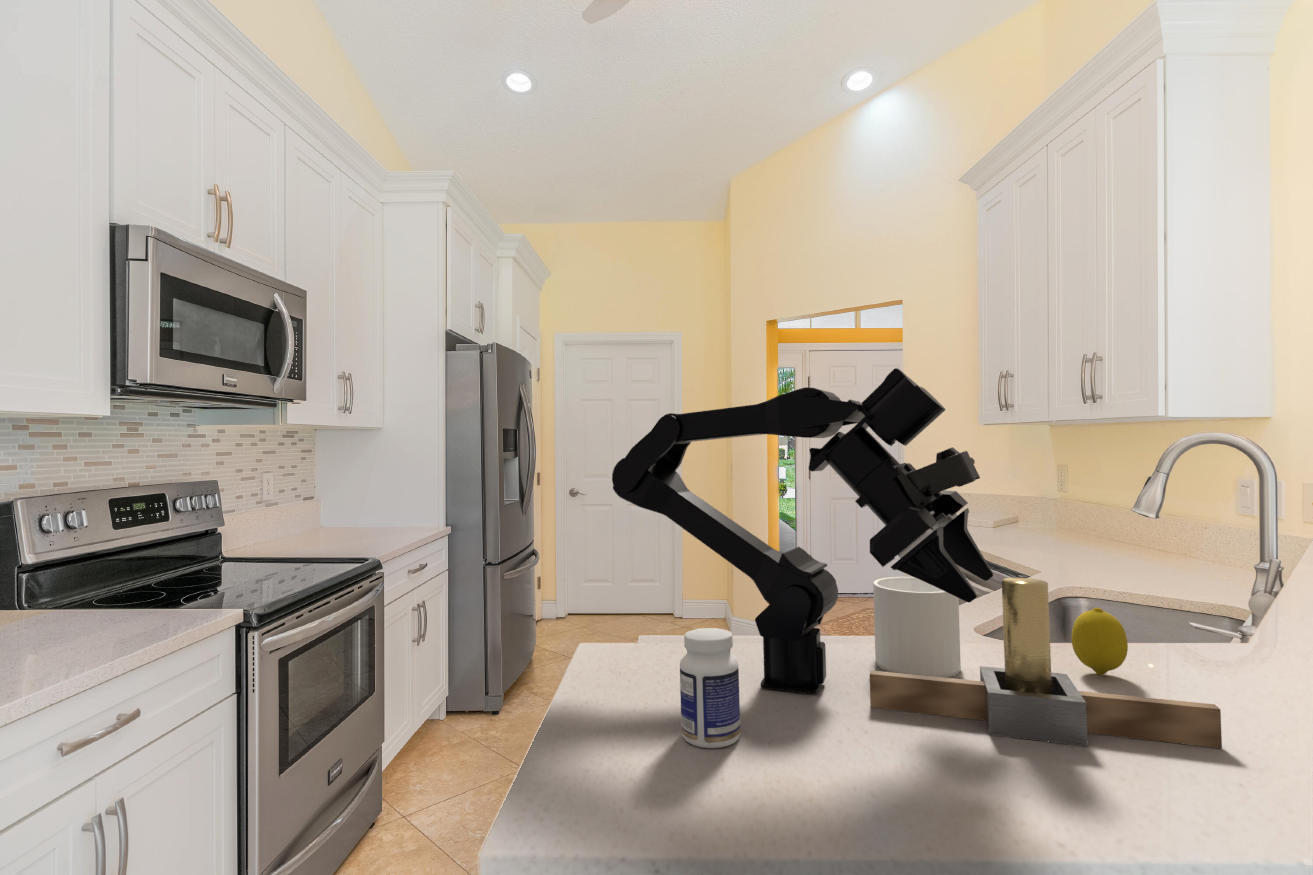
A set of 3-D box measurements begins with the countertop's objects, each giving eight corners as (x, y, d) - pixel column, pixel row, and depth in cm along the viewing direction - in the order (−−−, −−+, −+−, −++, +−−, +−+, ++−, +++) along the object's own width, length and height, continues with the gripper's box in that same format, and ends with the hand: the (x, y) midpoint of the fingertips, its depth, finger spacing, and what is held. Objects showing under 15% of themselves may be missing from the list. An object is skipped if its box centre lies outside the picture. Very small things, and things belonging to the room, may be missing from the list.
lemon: (1138, 684, 74) (1136, 613, 74) (1084, 681, 75) (1082, 612, 75) (1114, 668, 79) (1112, 602, 80) (1064, 666, 81) (1062, 601, 81)
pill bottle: (746, 728, 64) (743, 627, 65) (733, 753, 59) (731, 643, 59) (690, 721, 66) (688, 623, 67) (673, 745, 61) (671, 639, 61)
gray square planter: (989, 734, 62) (988, 692, 62) (981, 703, 69) (979, 665, 69) (1087, 746, 59) (1086, 702, 59) (1068, 713, 66) (1066, 673, 67)
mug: (979, 674, 78) (976, 589, 78) (907, 683, 76) (904, 595, 76) (914, 645, 90) (912, 571, 91) (849, 652, 88) (847, 576, 88)
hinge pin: (1017, 731, 62) (1011, 585, 63) (999, 714, 66) (995, 577, 67) (1061, 732, 62) (1055, 585, 62) (1041, 715, 66) (1036, 577, 66)
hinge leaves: (870, 706, 69) (869, 673, 69) (871, 702, 70) (870, 670, 70) (1222, 748, 58) (1220, 709, 58) (1216, 742, 59) (1214, 704, 59)
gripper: (903, 427, 61) (1037, 558, 55) (948, 421, 76) (1057, 524, 70) (823, 503, 66) (937, 631, 60) (880, 484, 81) (976, 584, 75)
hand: (982, 588), depth 66 cm, fingers open, 9 cm apart
